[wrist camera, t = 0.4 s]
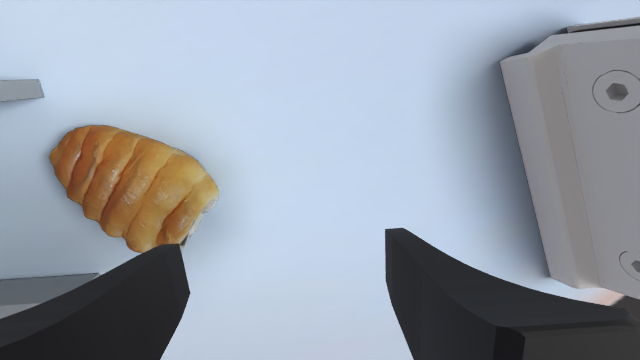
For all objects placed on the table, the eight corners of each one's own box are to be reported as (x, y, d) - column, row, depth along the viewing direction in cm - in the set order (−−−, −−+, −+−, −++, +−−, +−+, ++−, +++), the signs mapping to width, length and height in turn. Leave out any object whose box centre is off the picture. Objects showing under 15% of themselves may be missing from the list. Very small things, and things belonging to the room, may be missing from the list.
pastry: (54, 182, 22) (2, 203, 18) (96, 92, 20) (49, 95, 17) (185, 252, 24) (162, 285, 20) (233, 175, 22) (218, 194, 18)
